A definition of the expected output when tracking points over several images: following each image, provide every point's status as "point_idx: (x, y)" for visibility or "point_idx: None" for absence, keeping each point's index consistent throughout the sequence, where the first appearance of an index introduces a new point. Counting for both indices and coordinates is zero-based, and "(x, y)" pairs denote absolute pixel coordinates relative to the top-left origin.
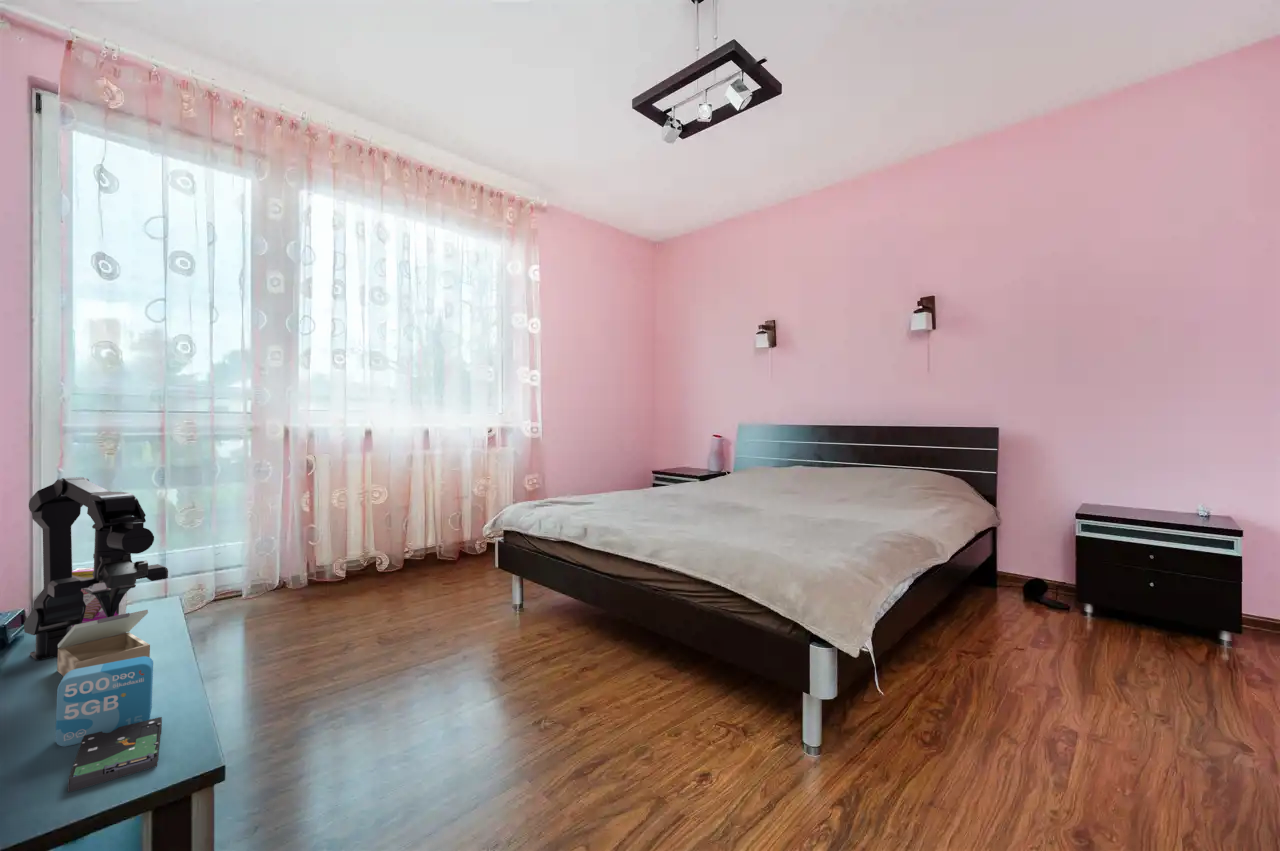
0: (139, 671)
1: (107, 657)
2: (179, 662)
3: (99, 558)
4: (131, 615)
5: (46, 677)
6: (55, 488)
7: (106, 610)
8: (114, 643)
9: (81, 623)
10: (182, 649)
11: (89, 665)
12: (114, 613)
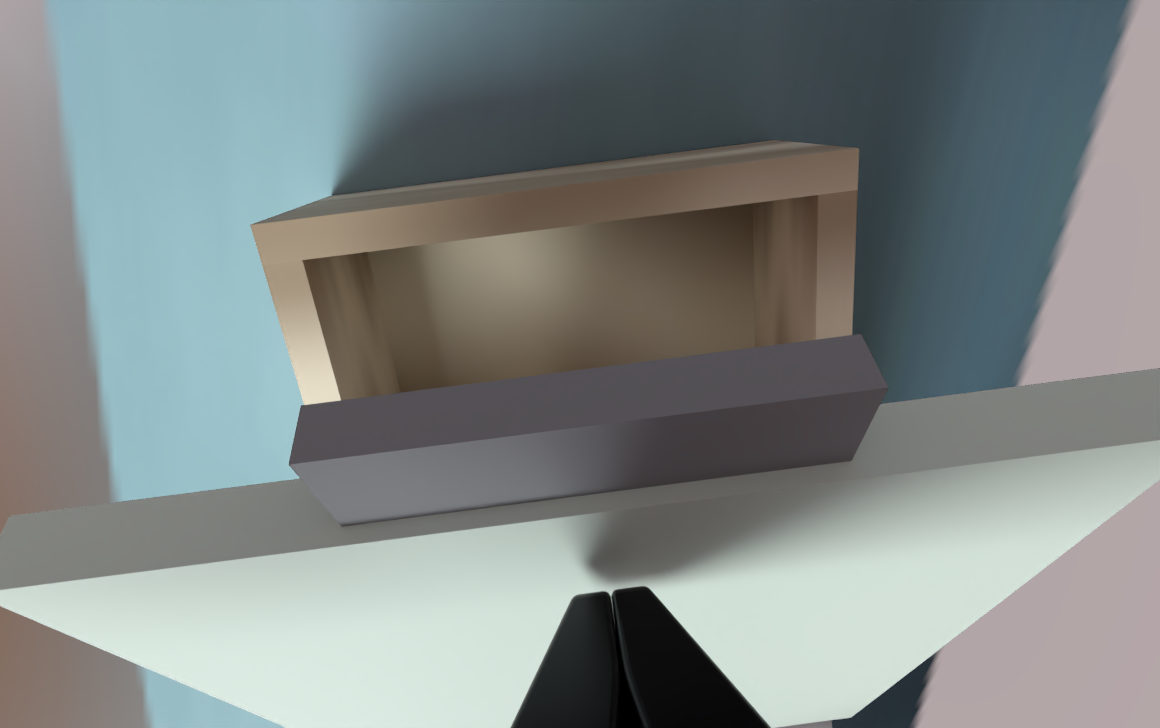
0: None
1: (613, 176)
2: (117, 93)
3: None
4: (286, 494)
5: None
6: None
7: (732, 704)
8: None
9: (1111, 447)
10: (114, 417)
11: (741, 158)
12: (556, 641)
